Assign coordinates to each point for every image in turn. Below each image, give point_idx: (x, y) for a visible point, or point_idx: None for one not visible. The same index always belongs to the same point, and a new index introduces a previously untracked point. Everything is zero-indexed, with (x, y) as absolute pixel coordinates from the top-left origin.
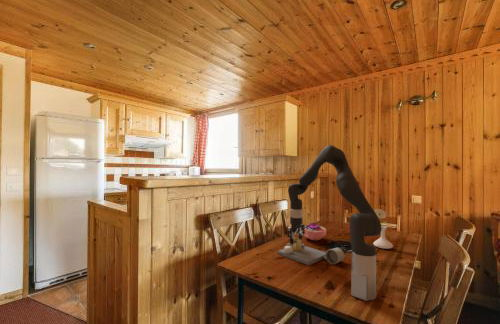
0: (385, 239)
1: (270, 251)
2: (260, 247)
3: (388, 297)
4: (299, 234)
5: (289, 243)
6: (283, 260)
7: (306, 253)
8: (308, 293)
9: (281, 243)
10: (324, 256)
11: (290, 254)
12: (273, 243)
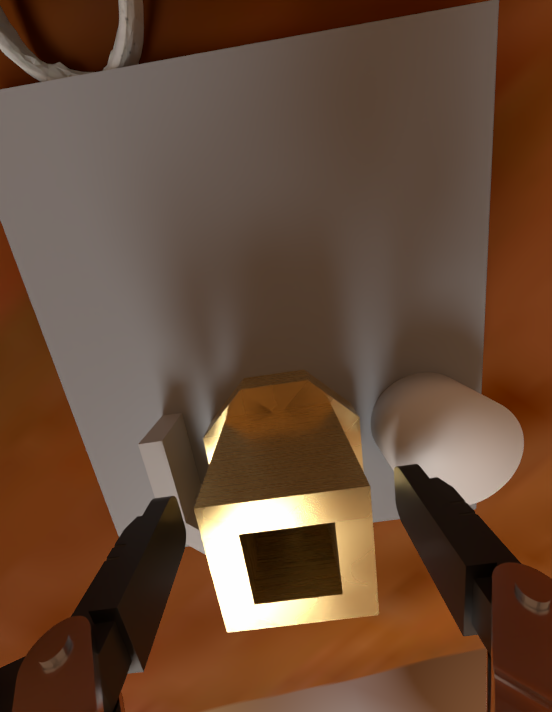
0: None
1: None
2: (440, 650)
3: None
4: (115, 693)
5: None
6: (544, 337)
7: (267, 278)
8: None
9: (216, 646)
10: (127, 1)
11: (461, 358)
12: (278, 671)
